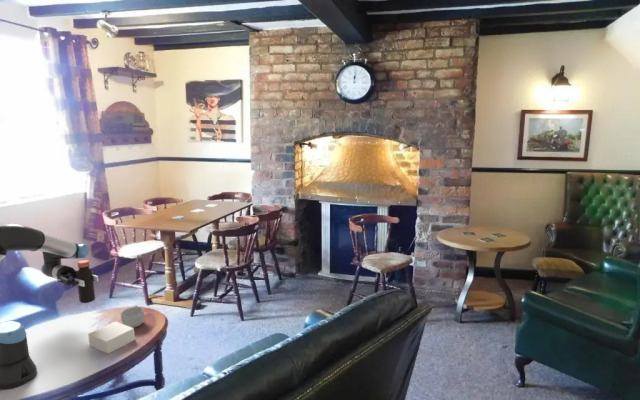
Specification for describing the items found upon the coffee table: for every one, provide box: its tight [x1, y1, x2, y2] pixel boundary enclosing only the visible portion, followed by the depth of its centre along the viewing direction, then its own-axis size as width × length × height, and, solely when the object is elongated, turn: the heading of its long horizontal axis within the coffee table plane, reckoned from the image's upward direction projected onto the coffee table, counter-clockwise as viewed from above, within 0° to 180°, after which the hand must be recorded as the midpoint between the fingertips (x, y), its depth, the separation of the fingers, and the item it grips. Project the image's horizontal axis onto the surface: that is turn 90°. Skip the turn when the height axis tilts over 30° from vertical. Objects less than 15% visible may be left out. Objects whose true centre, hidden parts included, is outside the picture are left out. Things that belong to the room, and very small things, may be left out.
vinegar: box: [76, 259, 96, 304], centre depth 209 cm, size 7×7×20 cm
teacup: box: [120, 305, 145, 329], centre depth 222 cm, size 14×11×8 cm
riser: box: [88, 321, 136, 354], centre depth 203 cm, size 14×14×6 cm
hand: (90, 281), depth 206 cm, fingers closed on vinegar, 6 cm apart
